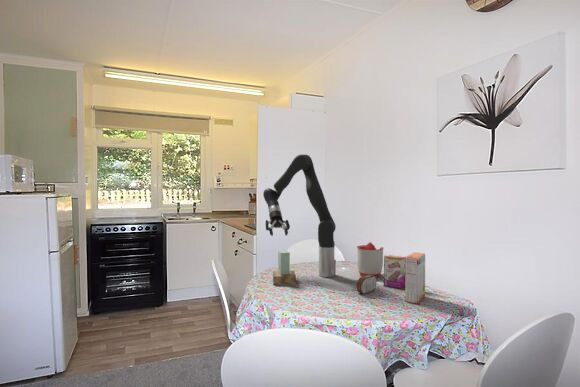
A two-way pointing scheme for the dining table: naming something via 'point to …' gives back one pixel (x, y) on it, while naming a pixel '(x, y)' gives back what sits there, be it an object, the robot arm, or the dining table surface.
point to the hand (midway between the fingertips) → (279, 235)
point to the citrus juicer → (369, 260)
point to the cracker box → (414, 277)
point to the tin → (366, 283)
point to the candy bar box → (394, 271)
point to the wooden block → (284, 278)
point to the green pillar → (283, 262)
